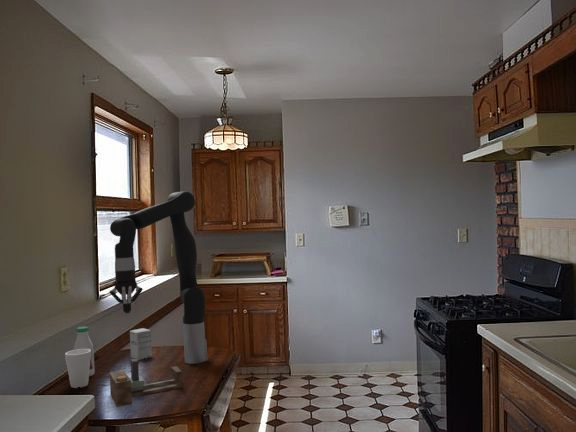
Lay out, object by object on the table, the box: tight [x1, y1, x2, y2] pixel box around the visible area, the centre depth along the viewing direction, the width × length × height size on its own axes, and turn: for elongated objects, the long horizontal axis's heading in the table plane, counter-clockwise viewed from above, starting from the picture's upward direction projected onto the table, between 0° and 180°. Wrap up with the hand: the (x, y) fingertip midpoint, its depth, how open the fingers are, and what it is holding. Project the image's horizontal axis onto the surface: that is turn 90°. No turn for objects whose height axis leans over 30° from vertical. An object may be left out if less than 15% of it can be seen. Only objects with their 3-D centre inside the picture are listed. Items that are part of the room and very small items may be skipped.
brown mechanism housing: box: [109, 365, 183, 408], centre depth 183 cm, size 24×15×8 cm, turn 117°
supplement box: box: [129, 327, 153, 361], centre depth 235 cm, size 7×7×13 cm
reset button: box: [118, 376, 126, 382], centre depth 175 cm, size 2×2×4 cm
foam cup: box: [64, 349, 91, 389], centre depth 197 cm, size 10×9×13 cm
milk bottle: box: [73, 326, 95, 377], centre depth 210 cm, size 8×8×20 cm
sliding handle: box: [129, 358, 145, 392], centre depth 184 cm, size 5×7×11 cm
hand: (127, 312), depth 199 cm, fingers closed
